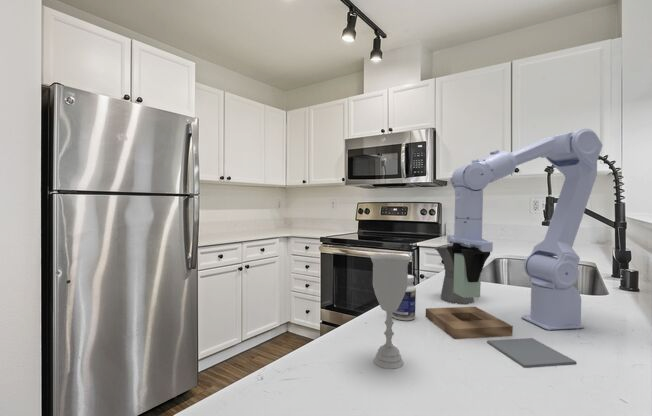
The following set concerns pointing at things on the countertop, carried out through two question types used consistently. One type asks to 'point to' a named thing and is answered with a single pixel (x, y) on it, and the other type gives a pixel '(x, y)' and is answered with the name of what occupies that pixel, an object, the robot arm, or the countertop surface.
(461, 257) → the sage block
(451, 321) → the pocket holder
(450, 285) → the coffeepot
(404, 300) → the pill bottle
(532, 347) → the slate mat
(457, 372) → the countertop surface
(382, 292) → the chalice
